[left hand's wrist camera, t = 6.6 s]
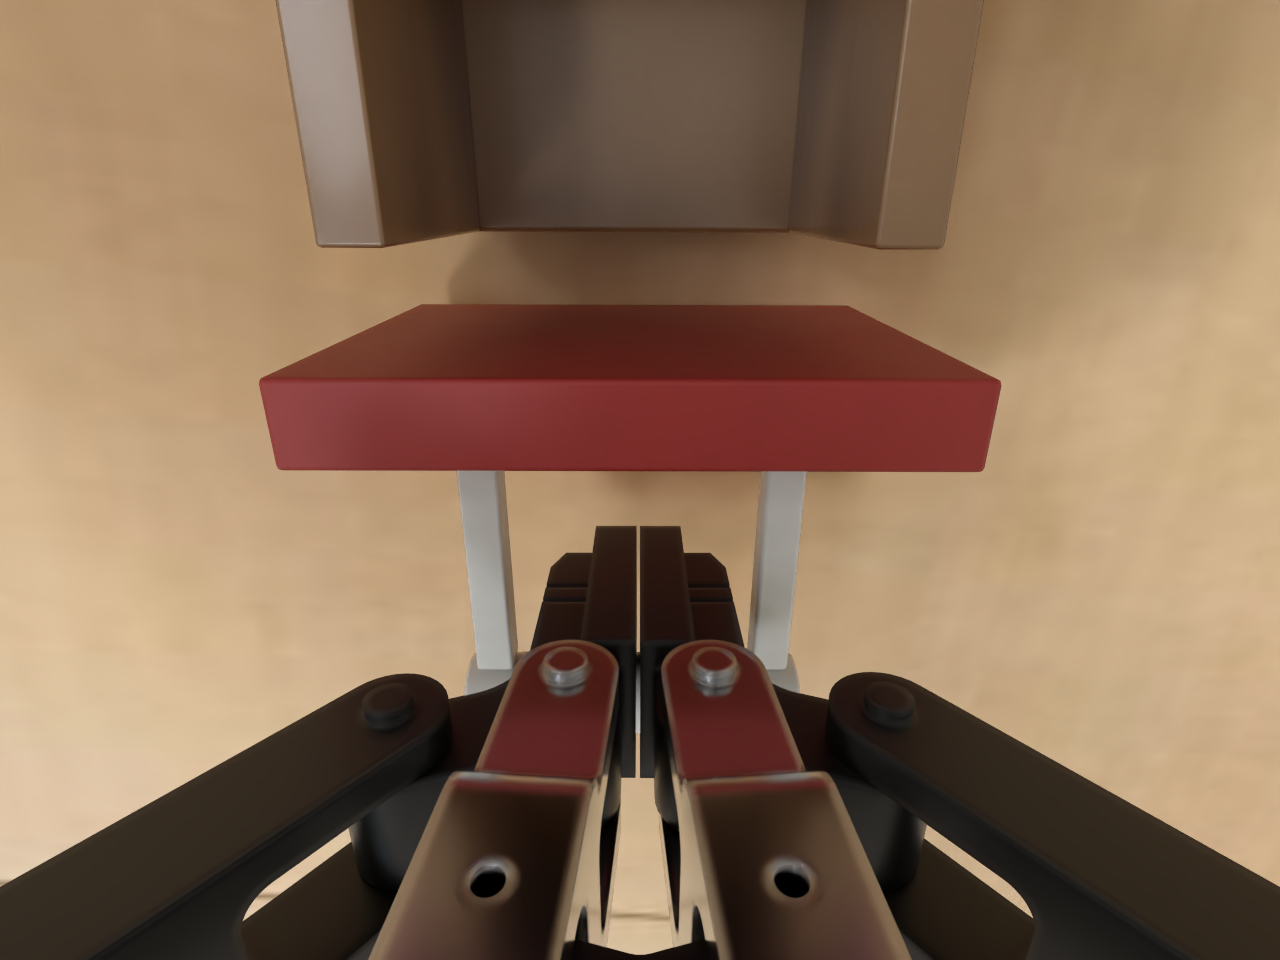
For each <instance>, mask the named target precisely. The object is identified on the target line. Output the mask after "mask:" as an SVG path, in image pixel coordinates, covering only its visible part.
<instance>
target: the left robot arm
mask: <svg viewBox="0 0 1280 960" xmlns="http://www.w3.org/2000/svg"><path fill="white" fill-rule="evenodd" d="M636 649H637V533H636V526H596V531H595V538H594V546H593V553H566V554H565V555H564V556H562V557H561V558H560V559H559V560H558V561H557V562H556V563H555V564H554V565H553V566H552V567H551V569H550V573H549V577H548V581H547V588H546V589H545V593H544V597H543V602H542V605H541V609H540V613H539V617H538V621H537V625H536V629H535V633H534V637H533V641H532V645H531V649H530V651H529V652H527V653H526V654H525V655H524V656H523V657H522V658H521V659H520V660H519V661H518V662H517V664H516V666H515V668H514V670H513V673H512V675H511V678H510V679H509V680H507V681H505V682H504V683H502V684H500V685H498V686H496V687H493V688H491V689H488V690H485V691H481V692H478V693H474V694H469V695H465V696H460V697H456V698H451V699H448V694H447V692H446V690H445V688H444V687H443V685H442V684H440V683H439V682H438V681H436V680H434V679H432V678H430V677H427V676H424V675H419V674H395V675H389V676H385V677H381V678H377V679H375V680H372V681H369V682H367V683H365V684H363V685H361V686H359V687H357V688H355V689H353V690H351V691H350V692H348V693H346V694H344V695H342V696H341V697H339V698H337V699H335V700H334V701H332V702H330V703H328V704H326V705H325V706H323V707H321V708H319V709H317V710H316V711H314V712H312V713H310V714H309V715H307V716H305V717H303V718H301V719H300V720H298V721H296V722H294V723H292V724H291V725H289V726H287V727H285V728H283V729H282V730H280V731H278V732H276V733H275V734H273V735H271V736H269V737H267V738H266V739H264V740H262V741H260V742H258V743H257V744H255V745H253V746H251V747H250V748H248V749H246V750H244V751H242V752H241V753H239V754H237V755H235V756H233V757H232V758H230V759H228V760H226V761H224V762H223V763H221V764H219V765H217V766H216V767H214V768H212V769H210V770H208V771H207V772H205V773H203V774H201V775H199V776H198V777H196V778H194V779H192V780H191V781H189V782H187V783H185V784H183V785H182V786H180V787H178V788H176V789H174V790H173V791H171V792H169V793H167V794H166V795H164V796H162V797H160V798H158V799H157V800H155V801H153V802H151V803H149V804H148V805H146V806H144V807H142V808H140V809H139V810H137V811H135V812H133V813H132V814H130V815H128V816H126V817H124V818H123V819H121V820H119V821H117V822H115V823H114V824H112V825H110V826H108V827H107V828H105V829H103V830H101V831H99V832H98V833H96V834H94V835H92V836H90V837H89V838H87V839H85V840H83V841H81V842H80V843H78V844H76V845H74V846H73V847H71V848H69V849H67V850H65V851H64V852H62V853H60V854H58V855H56V856H55V857H53V858H51V859H49V860H48V861H46V862H44V863H42V864H40V865H39V866H37V867H35V868H33V869H31V870H30V871H28V872H26V873H24V874H22V875H21V876H19V877H17V878H15V879H14V880H12V881H10V882H8V883H6V884H5V885H3V886H1V887H0V960H1280V887H1279V886H1277V885H1275V884H1274V883H1272V882H1270V881H1268V880H1266V879H1265V878H1263V877H1261V876H1259V875H1257V874H1256V873H1254V872H1252V871H1250V870H1249V869H1247V868H1245V867H1243V866H1241V865H1240V864H1238V863H1236V862H1234V861H1232V860H1231V859H1229V858H1227V857H1225V856H1224V855H1222V854H1220V853H1218V852H1216V851H1215V850H1213V849H1211V848H1209V847H1207V846H1206V845H1204V844H1202V843H1200V842H1198V841H1197V840H1195V839H1193V838H1191V837H1190V836H1188V835H1186V834H1184V833H1182V832H1181V831H1179V830H1177V829H1175V828H1173V827H1172V826H1170V825H1168V824H1166V823H1165V822H1163V821H1161V820H1159V819H1157V818H1156V817H1154V816H1152V815H1150V814H1148V813H1147V812H1145V811H1143V810H1141V809H1139V808H1138V807H1136V806H1134V805H1132V804H1131V803H1129V802H1127V801H1125V800H1123V799H1122V798H1120V797H1118V796H1116V795H1114V794H1113V793H1111V792H1109V791H1107V790H1106V789H1104V788H1102V787H1100V786H1098V785H1097V784H1095V783H1093V782H1091V781H1089V780H1088V779H1086V778H1084V777H1082V776H1081V775H1079V774H1077V773H1075V772H1073V771H1072V770H1070V769H1068V768H1066V767H1064V766H1063V765H1061V764H1059V763H1057V762H1055V761H1054V760H1052V759H1050V758H1048V757H1047V756H1045V755H1043V754H1041V753H1039V752H1038V751H1036V750H1034V749H1032V748H1030V747H1029V746H1027V745H1025V744H1023V743H1022V742H1020V741H1018V740H1016V739H1014V738H1013V737H1011V736H1009V735H1007V734H1005V733H1004V732H1002V731H1000V730H998V729H996V728H995V727H993V726H991V725H989V724H988V723H986V722H984V721H982V720H980V719H979V718H977V717H975V716H973V715H971V714H970V713H968V712H966V711H964V710H963V709H961V708H959V707H957V706H955V705H954V704H952V703H950V702H948V701H946V700H945V699H943V698H941V697H939V696H937V695H936V694H934V693H932V692H930V691H929V690H927V689H925V688H923V687H921V686H920V685H918V684H916V683H914V682H912V681H909V680H907V679H904V678H901V677H898V676H894V675H891V674H885V673H877V672H862V673H856V674H852V675H849V676H846V677H844V678H842V679H840V680H839V681H838V682H837V683H835V685H834V686H833V687H832V689H831V691H830V694H829V700H827V699H823V698H818V697H814V696H809V695H805V694H800V693H796V692H793V691H789V690H787V689H784V688H781V687H779V686H777V685H775V684H773V683H771V680H770V678H769V675H768V673H767V670H766V668H765V666H764V664H763V662H762V661H761V660H760V659H759V658H758V657H757V656H756V655H755V654H754V653H753V652H751V651H749V650H748V649H746V648H745V647H744V643H743V639H742V635H741V631H740V626H739V622H738V618H737V614H736V610H735V605H734V602H733V597H732V593H731V589H730V587H729V580H728V576H727V572H726V568H725V567H724V566H723V565H722V564H721V563H720V562H719V561H718V560H717V559H716V558H715V557H714V556H713V555H712V554H711V553H684V551H683V543H682V536H681V528H680V526H640V778H654V790H655V803H656V806H657V809H658V812H659V831H660V840H661V848H662V856H663V865H664V873H665V882H666V890H667V898H668V907H669V915H670V923H671V932H672V940H673V948H670V949H666V950H662V951H659V952H655V953H651V954H646V955H634V954H629V953H625V952H621V951H618V950H614V949H610V948H607V940H608V932H609V923H610V915H611V907H612V898H613V890H614V882H615V873H616V865H617V857H618V848H619V840H620V831H621V798H620V797H621V778H635V772H636ZM927 825H928V826H930V827H931V828H933V829H934V830H935V831H937V832H938V833H940V834H941V835H942V836H944V837H945V838H947V839H948V840H949V841H951V842H952V843H954V844H955V845H956V846H958V847H959V848H961V849H962V850H963V851H965V852H966V853H967V854H969V855H970V856H972V857H973V858H974V859H976V860H977V861H979V862H980V863H981V864H983V865H984V866H986V867H987V868H988V869H990V870H991V871H993V872H994V873H995V874H997V875H998V876H1000V877H1001V878H1002V879H1004V880H1005V881H1006V882H1008V883H1009V884H1010V885H1011V886H1012V887H1013V888H1014V889H1015V890H1016V891H1017V892H1018V893H1019V894H1020V895H1021V897H1022V898H1023V899H1024V901H1025V902H1026V904H1027V905H1028V907H1029V909H1030V911H1031V913H1032V916H1033V918H1032V917H1030V916H1029V915H1028V914H1026V913H1025V912H1023V911H1022V910H1021V909H1019V908H1018V907H1017V906H1015V905H1014V904H1013V903H1011V902H1010V901H1008V900H1007V899H1006V898H1004V897H1003V896H1002V895H1000V894H999V893H998V892H996V891H995V890H994V889H992V888H991V887H989V886H988V885H987V884H985V883H984V882H983V881H981V880H980V879H979V878H977V877H976V876H974V875H973V874H972V873H970V872H969V871H968V870H966V869H965V868H964V867H962V866H961V865H960V864H958V863H957V862H955V861H954V860H953V859H951V858H950V857H949V856H947V855H946V854H945V853H943V852H942V851H940V850H939V849H938V848H936V847H935V846H934V845H932V844H931V843H930V842H928V841H927V840H926V839H924V835H925V831H926V826H927ZM347 828H349V832H350V837H351V841H352V842H350V843H349V844H348V845H346V846H345V847H344V848H342V849H341V850H339V851H338V852H337V853H335V854H334V855H333V856H331V857H330V858H329V859H327V860H326V861H325V862H323V863H322V864H320V865H319V866H318V867H316V868H315V869H314V870H312V871H311V872H310V873H308V874H307V875H305V876H304V877H303V878H301V879H300V880H299V881H297V882H296V883H295V884H293V885H292V886H291V887H289V888H288V889H286V890H285V891H284V892H282V893H281V894H280V895H278V896H277V897H276V898H274V899H273V900H271V901H270V902H269V903H267V904H266V905H265V906H263V907H262V908H261V909H259V910H258V911H257V912H255V913H254V914H252V915H251V916H250V917H248V918H247V919H246V920H244V921H243V918H244V916H245V914H246V912H247V910H248V908H249V906H250V905H251V903H252V902H253V901H254V899H255V898H256V897H257V896H258V895H259V894H260V893H261V892H262V891H263V890H264V889H265V888H266V887H267V886H268V885H270V884H271V883H272V882H273V881H275V880H276V879H278V878H279V877H280V876H282V875H283V874H285V873H286V872H287V871H289V870H290V869H292V868H293V867H294V866H296V865H297V864H299V863H300V862H301V861H303V860H304V859H305V858H307V857H308V856H310V855H311V854H312V853H314V852H315V851H317V850H318V849H319V848H321V847H322V846H324V845H325V844H326V843H328V842H329V841H331V840H332V839H333V838H335V837H336V836H338V835H339V834H340V833H342V832H343V831H345V830H346V829H347ZM242 921H243V922H242Z"/></svg>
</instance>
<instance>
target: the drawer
mask: <svg viewBox="0 0 1280 960" xmlns="http://www.w3.org/2000/svg"><path fill="white" fill-rule="evenodd" d="M983 1H984V0H276V5H277V11H278V17H279V23H280V29H281V35H282V41H283V47H284V53H285V59H286V65H287V70H288V76H289V82H290V88H291V94H292V100H293V106H294V112H295V118H296V124H297V130H298V136H299V142H300V148H301V154H302V160H303V166H304V172H305V178H306V184H307V190H308V196H309V202H310V208H311V214H312V220H313V226H314V232H315V238H316V243H317V245H318V246H319V247H322V248H384V247H390V246H396V245H402V244H408V243H413V242H419V241H425V240H431V239H437V238H443V237H449V236H455V235H461V234H466V233H472V232H477V231H502V232H791V233H796V234H801V235H806V236H812V237H817V238H822V239H827V240H833V241H838V242H843V243H849V244H854V245H859V246H864V247H870V248H875V249H940V248H942V247H943V245H944V241H945V235H946V228H947V222H948V216H949V210H950V204H951V198H952V192H953V185H954V179H955V173H956V167H957V161H958V155H959V148H960V142H961V136H962V130H963V124H964V118H965V112H966V105H967V99H968V93H969V87H970V81H971V75H972V68H973V62H974V56H975V50H976V44H977V38H978V31H979V25H980V19H981V13H982V7H983ZM259 386H260V390H261V395H262V400H263V404H264V409H265V414H266V418H267V423H268V428H269V433H270V437H271V442H272V447H273V451H274V456H275V461H276V465H277V467H278V469H280V470H417V471H457V479H458V488H459V497H460V507H461V516H462V526H463V535H464V545H465V554H466V563H467V573H468V582H469V592H470V601H471V610H472V620H473V629H474V639H475V648H476V653H475V654H474V655H473V657H472V659H471V661H470V664H469V667H468V671H467V675H466V681H465V690H464V696H465V695H469V694H474V693H478V692H481V691H485V690H488V689H491V688H493V687H496V686H498V685H500V684H502V683H504V682H505V681H507V680H509V679H510V678H511V675H512V673H513V670H514V668H515V666H516V664H517V662H518V661H519V660H520V659H521V658H522V657H523V656H524V655H525V654H526V653H527V652H517V650H518V642H517V629H516V616H515V603H514V591H513V578H512V565H511V552H510V539H509V526H508V514H507V501H506V488H505V475H504V471H761V474H760V487H759V501H758V514H757V527H756V541H755V554H754V567H753V581H752V594H751V607H750V621H749V634H748V647H747V649H748V650H749V651H751V652H753V653H754V654H755V655H756V656H757V657H758V658H759V659H760V660H761V661H762V662H763V664H764V666H765V668H766V670H767V673H768V675H769V678H770V680H771V683H773V684H775V685H777V686H779V687H781V688H784V689H787V690H789V691H793V692H796V693H800V687H799V679H798V673H797V669H796V665H795V662H794V660H793V657H792V656H791V655H790V654H789V653H788V650H789V641H790V631H791V621H792V612H793V602H794V592H795V582H796V573H797V563H798V553H799V543H800V534H801V524H802V514H803V504H804V495H805V485H806V475H807V472H980V471H983V469H984V467H985V462H986V457H987V452H988V447H989V443H990V438H991V433H992V428H993V423H994V419H995V414H996V409H997V404H998V399H999V395H1000V390H1001V382H1000V380H998V379H996V378H994V377H992V376H989V375H987V374H985V373H983V372H981V371H979V370H977V369H975V368H973V367H971V366H969V365H967V364H965V363H963V362H961V361H959V360H957V359H955V358H953V357H951V356H949V355H947V354H945V353H943V352H941V351H939V350H936V349H934V348H932V347H930V346H928V345H926V344H924V343H922V342H920V341H918V340H916V339H914V338H912V337H910V336H908V335H906V334H904V333H902V332H900V331H898V330H896V329H894V328H892V327H890V326H888V325H885V324H883V323H881V322H879V321H877V320H875V319H873V318H871V317H869V316H867V315H865V314H863V313H861V312H859V311H857V310H855V309H853V308H851V307H849V306H774V305H430V304H422V305H419V306H417V307H415V308H413V309H411V310H409V311H406V312H404V313H402V314H400V315H398V316H396V317H393V318H391V319H389V320H387V321H385V322H382V323H380V324H378V325H376V326H374V327H372V328H369V329H367V330H365V331H363V332H361V333H359V334H356V335H354V336H352V337H350V338H348V339H346V340H343V341H341V342H339V343H337V344H335V345H332V346H330V347H328V348H326V349H324V350H322V351H319V352H317V353H315V354H313V355H311V356H309V357H306V358H304V359H302V360H300V361H298V362H296V363H293V364H291V365H289V366H287V367H285V368H282V369H280V370H278V371H276V372H274V373H272V374H269V375H267V376H265V377H263V378H261V379H260V382H259ZM636 733H640V652H636Z"/></svg>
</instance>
